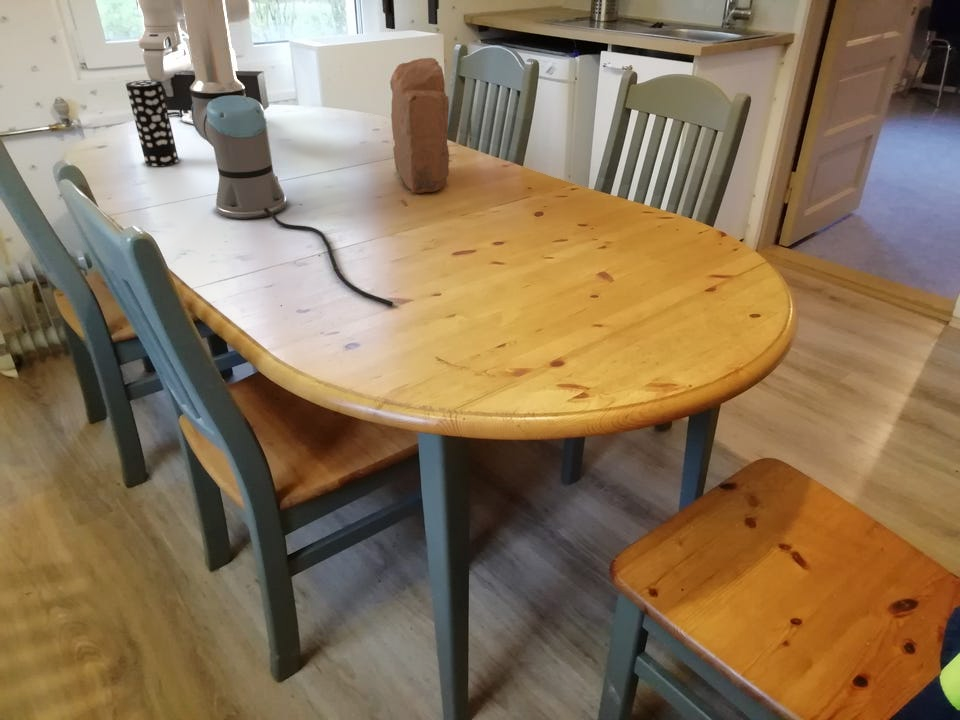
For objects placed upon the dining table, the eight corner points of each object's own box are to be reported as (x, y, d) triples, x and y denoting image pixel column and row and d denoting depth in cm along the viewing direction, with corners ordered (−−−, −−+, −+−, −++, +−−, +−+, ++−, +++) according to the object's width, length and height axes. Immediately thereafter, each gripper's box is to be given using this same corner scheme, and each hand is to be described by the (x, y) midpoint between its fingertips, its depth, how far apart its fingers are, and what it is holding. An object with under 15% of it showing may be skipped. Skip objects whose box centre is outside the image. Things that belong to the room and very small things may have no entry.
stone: (458, 191, 168) (455, 67, 154) (413, 195, 165) (406, 69, 151) (434, 168, 185) (430, 55, 171) (393, 172, 182) (386, 57, 168)
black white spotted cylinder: (184, 157, 190) (167, 80, 179) (169, 166, 183) (151, 87, 172) (155, 156, 190) (136, 79, 179) (139, 165, 183) (119, 86, 172)
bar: (268, 106, 190) (263, 71, 185) (262, 111, 185) (257, 75, 180) (171, 105, 190) (163, 69, 186) (162, 110, 185) (154, 74, 181)
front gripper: (438, -75, 170) (440, 20, 181) (354, -75, 155) (362, 28, 167) (458, -74, 165) (459, 23, 177) (374, -75, 151) (381, 32, 162)
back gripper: (168, 31, 187) (179, 85, 195) (135, 42, 170) (148, 101, 177) (191, 31, 187) (201, 85, 195) (160, 43, 170) (173, 101, 177)
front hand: (412, 26), depth 172 cm, fingers open, 13 cm apart
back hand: (176, 93), depth 186 cm, fingers closed on bar, 6 cm apart
